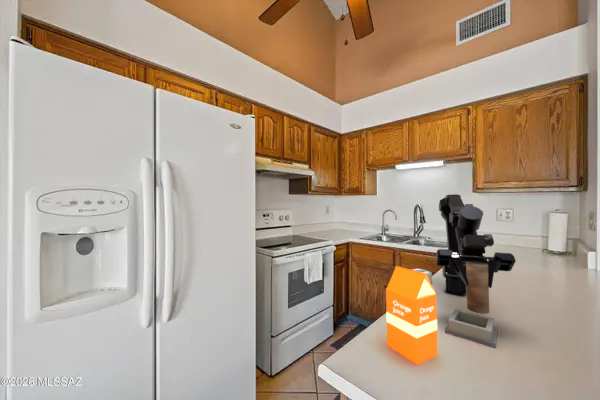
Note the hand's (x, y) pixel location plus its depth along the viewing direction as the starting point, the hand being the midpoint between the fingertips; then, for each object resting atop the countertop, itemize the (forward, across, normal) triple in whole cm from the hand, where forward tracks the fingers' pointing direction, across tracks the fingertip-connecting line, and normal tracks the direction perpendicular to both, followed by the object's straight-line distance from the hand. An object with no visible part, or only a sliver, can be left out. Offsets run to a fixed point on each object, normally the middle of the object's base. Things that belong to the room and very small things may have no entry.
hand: (478, 286), depth 66 cm
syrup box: (+5, -15, +14) cm, 21 cm away
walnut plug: (+4, 0, +6) cm, 7 cm away
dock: (+9, -2, +10) cm, 14 cm away
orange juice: (+20, -17, -1) cm, 27 cm away
